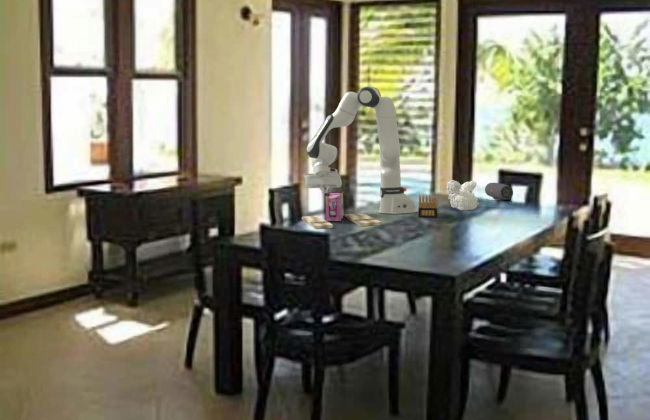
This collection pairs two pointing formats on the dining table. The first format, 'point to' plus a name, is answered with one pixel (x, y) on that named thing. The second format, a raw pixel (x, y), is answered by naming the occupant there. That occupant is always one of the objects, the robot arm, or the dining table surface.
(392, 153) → the robot arm
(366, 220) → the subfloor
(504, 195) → the bluetooth speaker
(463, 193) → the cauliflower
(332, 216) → the gum box
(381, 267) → the dining table surface
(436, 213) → the ammunition clip
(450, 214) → the dining table surface
